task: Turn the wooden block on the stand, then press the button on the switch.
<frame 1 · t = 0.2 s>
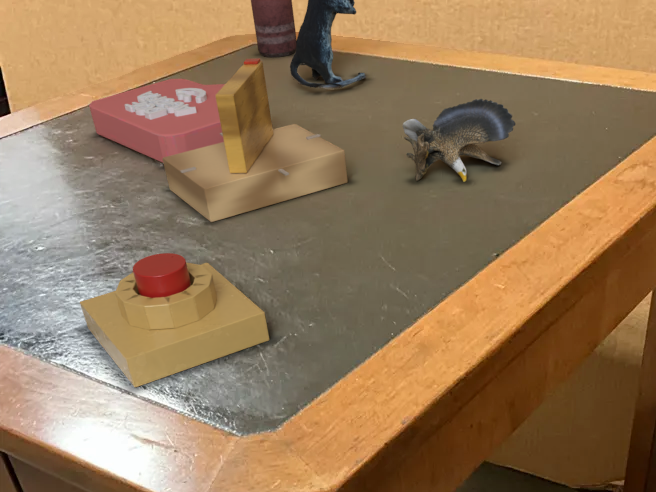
wooden block: (246, 114, 81), point 6 cm above the table, hinge at 50.0°
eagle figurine: (457, 176, 84), on the table
plaque: (191, 135, 98), on the table
sculpture: (336, 84, 108), on the table
stand: (258, 186, 85), on the table
switch: (177, 334, 64), on the table
button: (162, 276, 61), point 4 cm above the table, slide at 0.1 cm
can: (277, 54, 120), on the table
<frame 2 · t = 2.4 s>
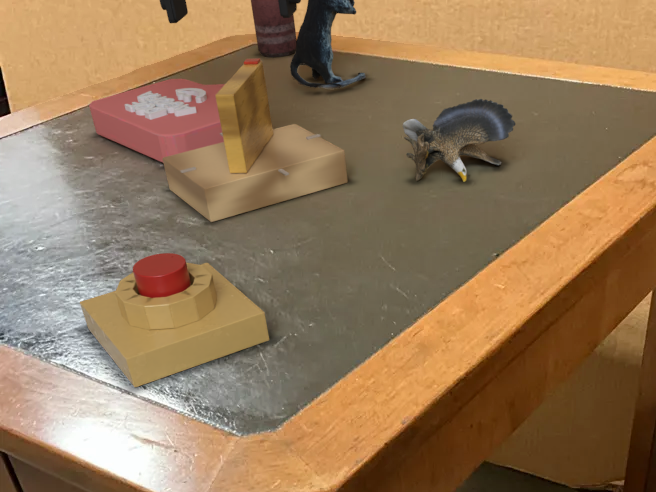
hand: (233, 16, 75), 14 cm above the table, tool pointing down, fingers open, 9 cm apart
nothing on the table moved.
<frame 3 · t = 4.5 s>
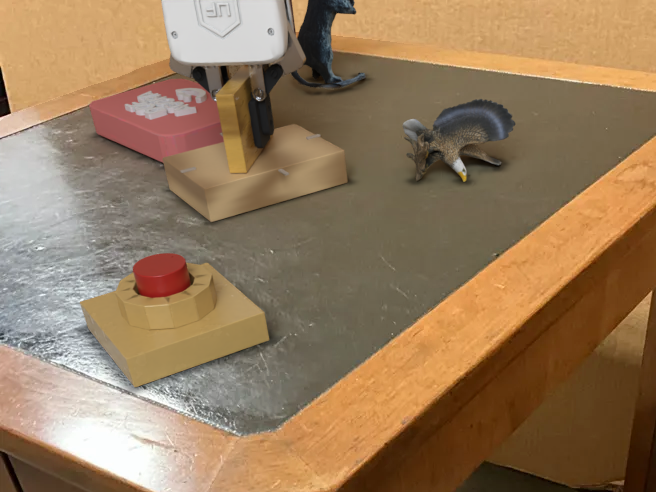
hand: (250, 142, 82), 4 cm above the table, tool pointing down, fingers closed on wooden block
wooden block: (246, 114, 81), point 6 cm above the table, hinge at 50.0°, touching gripper
everything else where it was.
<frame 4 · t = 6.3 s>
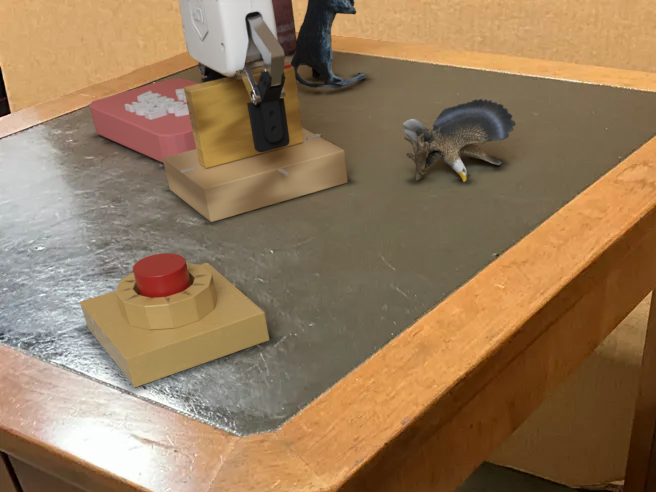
hand: (248, 134, 82), 5 cm above the table, tool pointing down, fingers open, 9 cm apart
wooden block: (246, 114, 81), point 6 cm above the table, hinge at 0.1°
everything else where it was.
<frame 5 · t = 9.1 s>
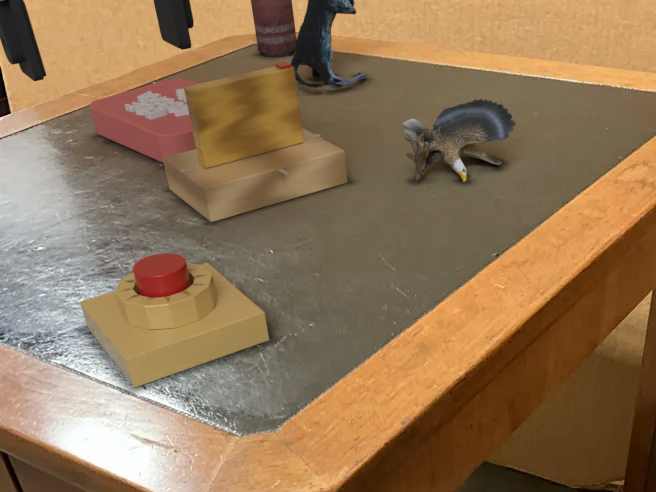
hand: (107, 58, 52), 18 cm above the table, tool pointing down, fingers open, 8 cm apart
nothing on the table moved.
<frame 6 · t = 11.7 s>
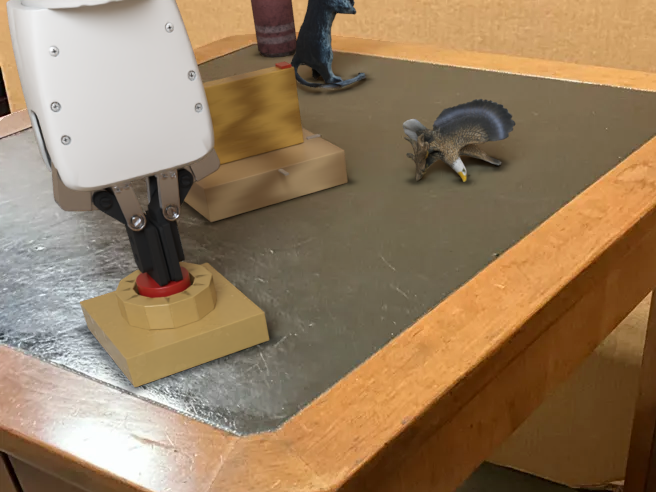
hand: (164, 275, 61), 5 cm above the table, tool pointing down, fingers closed
button: (165, 287, 62), point 4 cm above the table, slide at -0.7 cm, touching gripper
everything else where it was.
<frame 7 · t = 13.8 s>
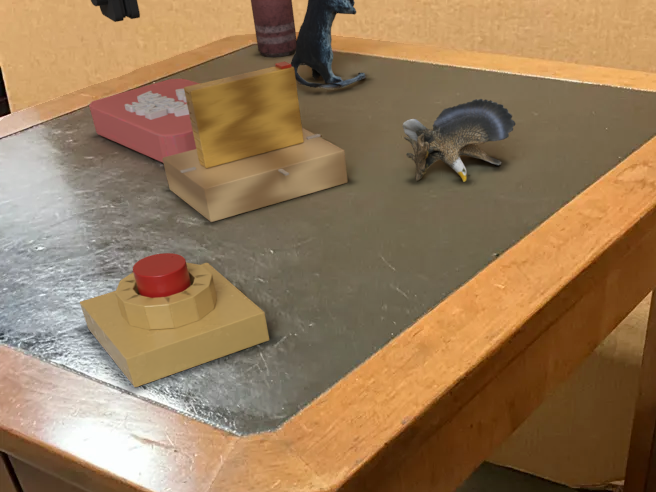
hand: (120, 15, 57), 19 cm above the table, tool pointing down, fingers closed
button: (162, 276, 61), point 4 cm above the table, slide at 0.1 cm
everything else where it was.
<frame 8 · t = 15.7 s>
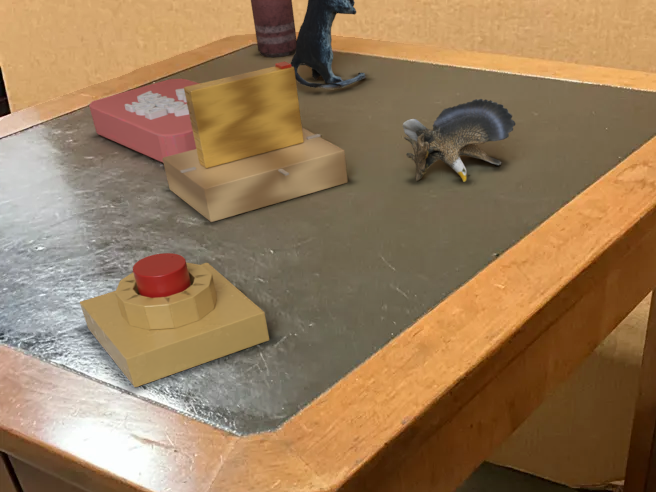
nothing on the table moved.
at the end: wooden block at +0° (first picture: +50°); button pushed in 1.1 cm at the most during the clip, back to where it started at the end; button slide at 0.1 cm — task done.
